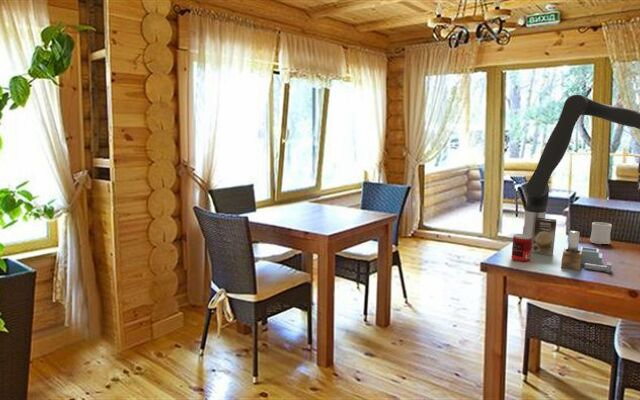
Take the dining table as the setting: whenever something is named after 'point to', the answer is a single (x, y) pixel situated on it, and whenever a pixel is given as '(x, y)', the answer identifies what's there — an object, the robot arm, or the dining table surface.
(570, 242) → the peg
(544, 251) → the coffee box
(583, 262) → the block
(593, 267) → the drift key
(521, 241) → the canned food
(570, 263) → the socket block
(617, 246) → the dining table surface
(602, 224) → the mug
